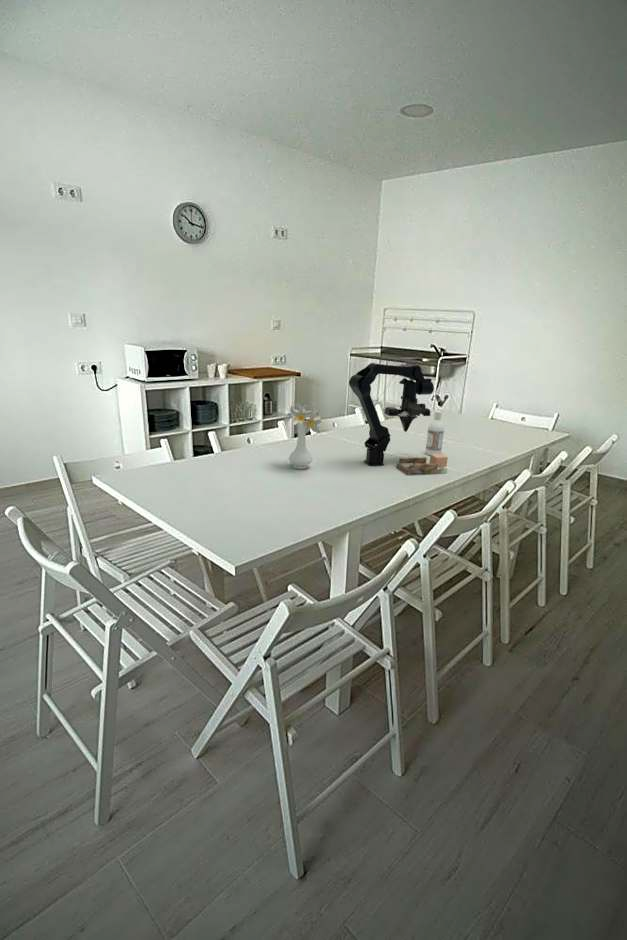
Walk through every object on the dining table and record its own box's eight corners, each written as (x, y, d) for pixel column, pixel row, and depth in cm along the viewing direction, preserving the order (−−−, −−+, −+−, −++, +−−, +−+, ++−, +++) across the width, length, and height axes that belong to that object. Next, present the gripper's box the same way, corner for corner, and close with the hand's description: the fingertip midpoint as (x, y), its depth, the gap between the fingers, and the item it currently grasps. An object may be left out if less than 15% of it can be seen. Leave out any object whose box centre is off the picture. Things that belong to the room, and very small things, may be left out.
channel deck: (407, 475, 191) (408, 465, 190) (396, 467, 200) (397, 458, 199) (446, 473, 196) (447, 463, 195) (433, 465, 205) (434, 456, 204)
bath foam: (422, 452, 225) (427, 410, 219) (433, 451, 228) (439, 409, 222) (431, 456, 219) (437, 413, 213) (443, 455, 222) (449, 412, 216)
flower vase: (300, 476, 184) (303, 411, 176) (276, 462, 198) (278, 402, 190) (328, 471, 191) (332, 408, 183) (303, 459, 205) (306, 400, 197)
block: (435, 467, 196) (436, 457, 195) (429, 463, 201) (430, 454, 200) (446, 466, 198) (447, 457, 197) (440, 463, 202) (441, 453, 201)
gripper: (396, 398, 192) (392, 436, 197) (438, 398, 197) (434, 435, 201) (385, 393, 202) (382, 430, 207) (426, 394, 207) (422, 429, 212)
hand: (405, 431), depth 207 cm, fingers closed
